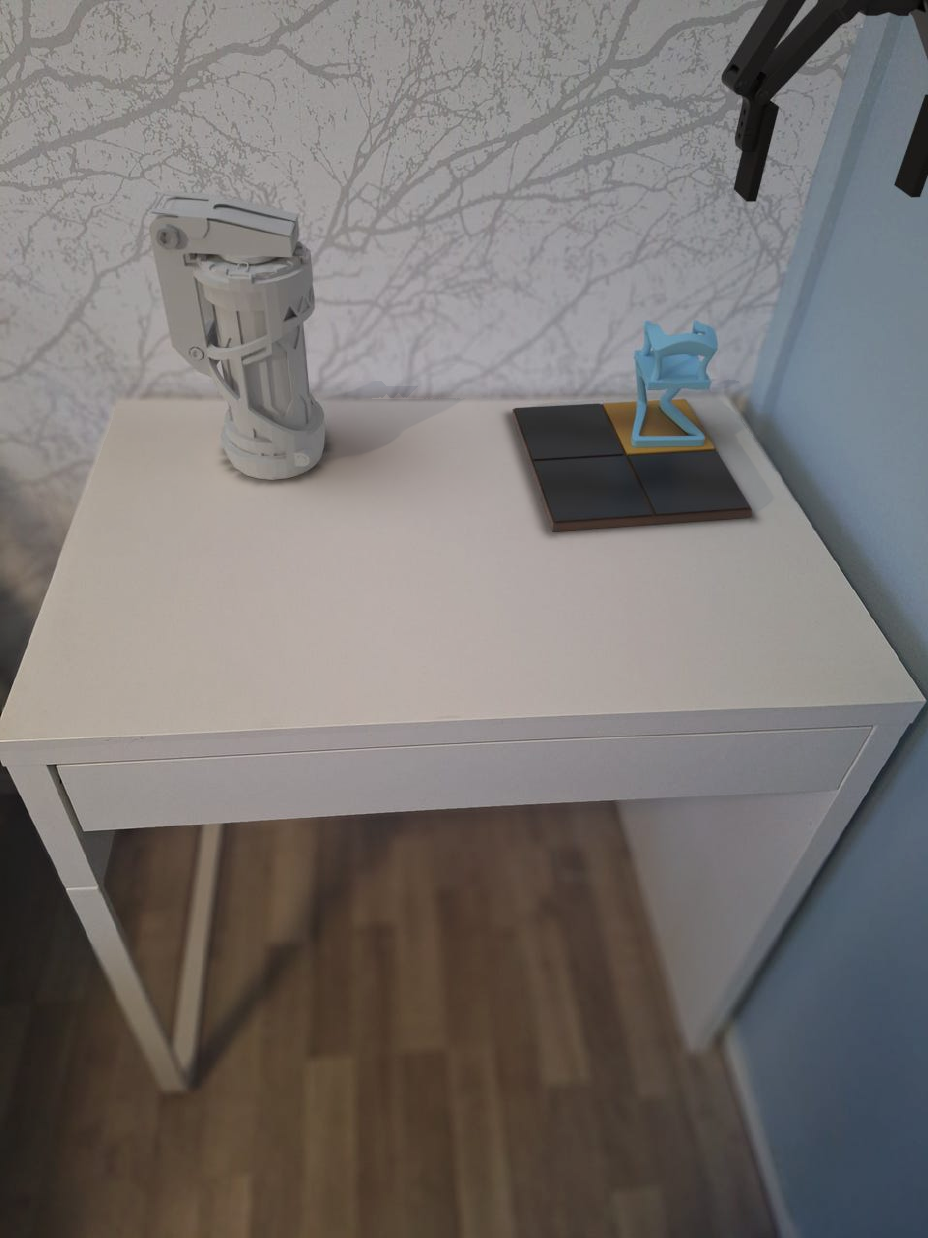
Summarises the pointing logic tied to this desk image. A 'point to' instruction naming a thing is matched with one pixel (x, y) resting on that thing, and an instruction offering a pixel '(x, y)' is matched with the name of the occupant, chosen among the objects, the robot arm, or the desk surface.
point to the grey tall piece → (243, 322)
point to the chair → (672, 378)
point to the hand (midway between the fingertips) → (826, 193)
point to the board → (623, 468)
